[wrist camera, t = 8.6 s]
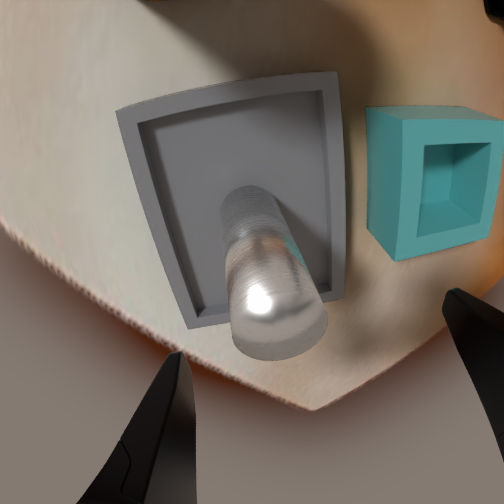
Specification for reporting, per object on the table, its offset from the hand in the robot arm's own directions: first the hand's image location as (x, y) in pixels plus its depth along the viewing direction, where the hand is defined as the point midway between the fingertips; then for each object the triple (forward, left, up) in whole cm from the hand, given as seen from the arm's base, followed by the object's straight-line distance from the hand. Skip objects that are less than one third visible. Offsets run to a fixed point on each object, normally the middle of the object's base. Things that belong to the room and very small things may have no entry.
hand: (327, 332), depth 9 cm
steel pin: (+1, +1, -12) cm, 12 cm away
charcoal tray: (+1, +1, -13) cm, 13 cm away
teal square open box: (-12, 0, -13) cm, 17 cm away
